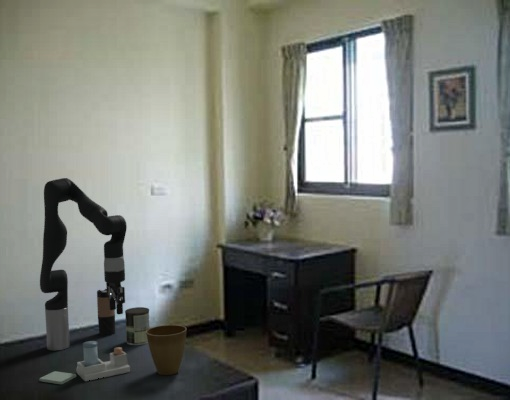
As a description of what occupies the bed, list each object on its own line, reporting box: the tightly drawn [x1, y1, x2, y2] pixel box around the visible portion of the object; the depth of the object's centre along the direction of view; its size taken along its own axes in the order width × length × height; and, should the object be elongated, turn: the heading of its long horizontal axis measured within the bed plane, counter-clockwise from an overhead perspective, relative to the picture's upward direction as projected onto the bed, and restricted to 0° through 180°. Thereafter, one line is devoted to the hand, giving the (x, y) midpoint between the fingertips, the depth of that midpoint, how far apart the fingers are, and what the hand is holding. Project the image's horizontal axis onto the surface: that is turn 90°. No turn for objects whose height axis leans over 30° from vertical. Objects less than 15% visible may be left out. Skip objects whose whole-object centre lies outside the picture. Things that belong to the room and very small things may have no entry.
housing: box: [75, 350, 131, 382], centre depth 231 cm, size 11×17×6 cm, turn 122°
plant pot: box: [146, 324, 187, 376], centre depth 230 cm, size 15×15×16 cm
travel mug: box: [96, 288, 116, 337], centre depth 283 cm, size 8×8×20 cm
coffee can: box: [124, 306, 150, 346], centre depth 269 cm, size 10×10×14 cm
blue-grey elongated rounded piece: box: [82, 340, 99, 367], centre depth 229 cm, size 5×5×10 cm
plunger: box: [113, 346, 123, 356], centre depth 234 cm, size 3×3×4 cm
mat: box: [38, 371, 77, 385], centre depth 226 cm, size 10×8×1 cm
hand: (116, 311), depth 233 cm, fingers open, 7 cm apart
